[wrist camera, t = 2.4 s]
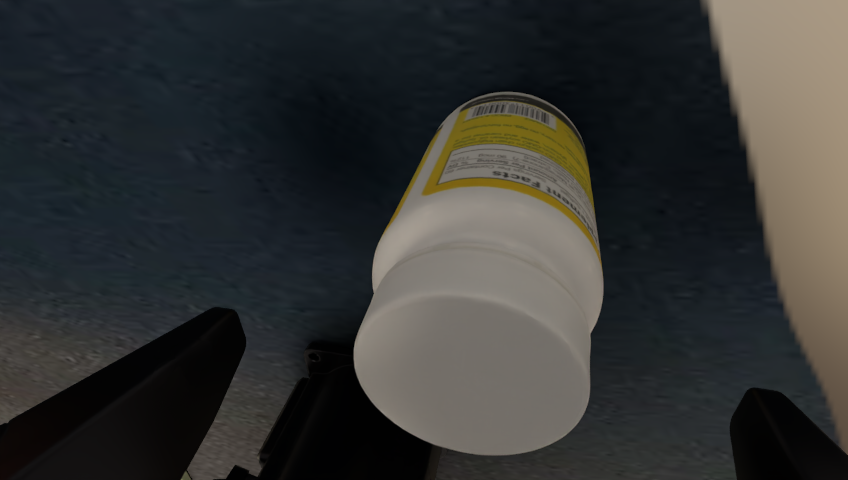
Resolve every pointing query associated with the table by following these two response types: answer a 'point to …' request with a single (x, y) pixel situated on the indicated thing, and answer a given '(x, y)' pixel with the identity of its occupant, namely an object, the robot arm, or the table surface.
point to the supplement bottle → (487, 284)
